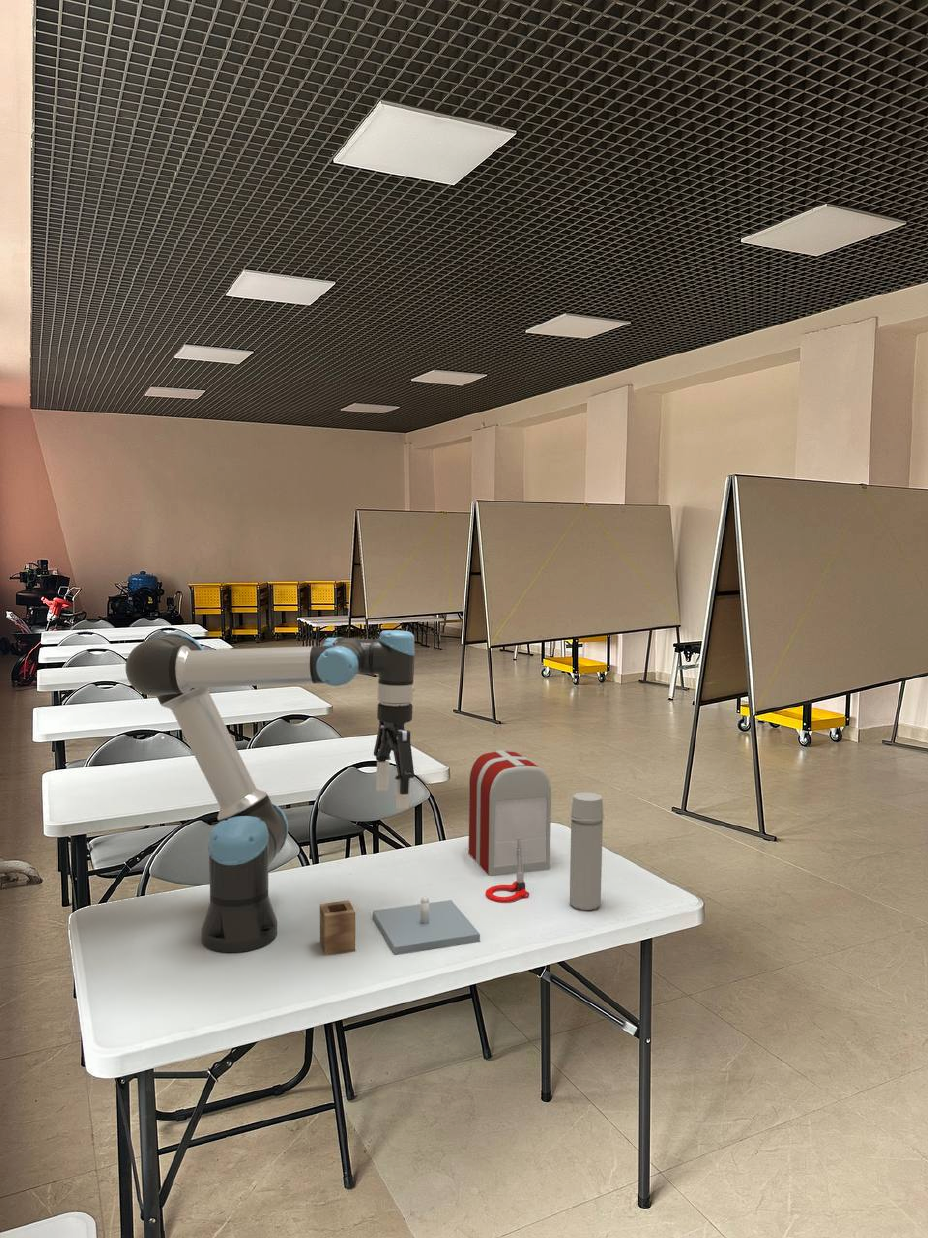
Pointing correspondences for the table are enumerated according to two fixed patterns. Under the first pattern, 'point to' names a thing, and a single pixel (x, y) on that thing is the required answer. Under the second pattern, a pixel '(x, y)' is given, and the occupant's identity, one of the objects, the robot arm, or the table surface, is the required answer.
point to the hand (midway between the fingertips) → (391, 799)
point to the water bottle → (586, 851)
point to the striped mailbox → (509, 813)
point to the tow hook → (517, 885)
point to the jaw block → (337, 927)
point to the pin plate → (425, 926)
